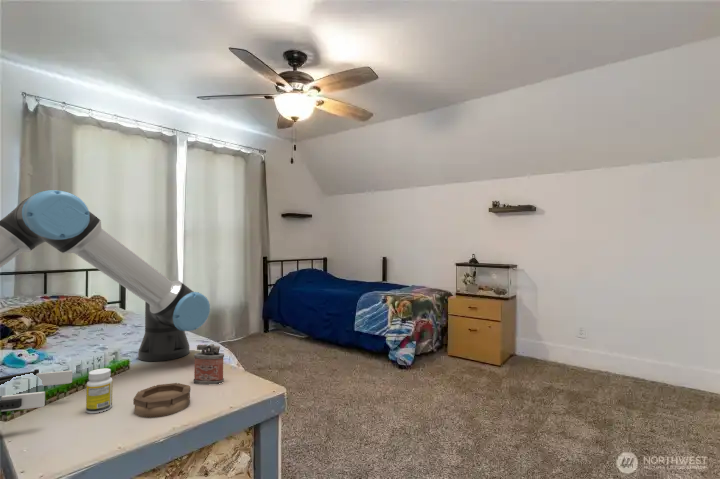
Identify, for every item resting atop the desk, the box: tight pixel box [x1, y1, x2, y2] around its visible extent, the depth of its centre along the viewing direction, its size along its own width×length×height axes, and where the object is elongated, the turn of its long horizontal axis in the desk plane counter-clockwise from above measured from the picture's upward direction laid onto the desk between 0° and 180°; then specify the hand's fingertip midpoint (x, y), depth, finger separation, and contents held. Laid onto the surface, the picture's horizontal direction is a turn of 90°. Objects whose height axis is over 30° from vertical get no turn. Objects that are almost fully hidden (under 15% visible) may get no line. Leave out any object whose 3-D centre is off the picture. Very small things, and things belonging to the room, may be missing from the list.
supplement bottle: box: [85, 367, 114, 414], centre depth 82 cm, size 5×5×8 cm
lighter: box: [193, 343, 225, 386], centre depth 99 cm, size 8×3×10 cm, turn 84°
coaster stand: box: [132, 382, 191, 419], centre depth 83 cm, size 11×11×3 cm
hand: (59, 386), depth 79 cm, fingers open, 13 cm apart
